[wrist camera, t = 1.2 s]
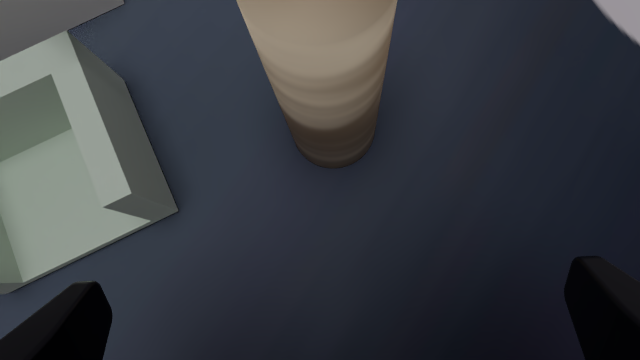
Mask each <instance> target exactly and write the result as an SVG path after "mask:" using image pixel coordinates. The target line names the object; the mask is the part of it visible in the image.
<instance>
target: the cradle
mask: <svg viewBox="0 0 640 360" xmlns="http://www.w3.org/2000/svg"><path fill="white" fill-rule="evenodd" d="M175 212H178V208H177V206H176V204H175V201H174V199H173V197H172V194H171V192H170V189H169V187H168V185H167V182H166V180H165V177H164V175H163V173H162V170H161V168H160V165H159V163H158V161H157V158H156V156H155V154H154V151H153V149H152V146H151V144H150V142H149V139H148V137H147V134H146V132H145V130H144V127H143V125H142V122H141V120H140V118H139V115H138V113H137V111H136V108H135V106H134V103H133V101H132V99H131V96H130V94H129V91H128V89H127V87H126V84H125V82H124V80H123V79H122V78H121V77H120V76H119V75H118V74H116V73H115V72H114V71H113V70H112V69H111V68H110V67H108V66H107V65H106V64H105V63H104V62H103V61H101V60H100V59H99V58H98V57H97V56H96V55H94V54H93V53H92V52H91V51H90V50H89V49H88V48H86V47H85V46H84V45H83V44H82V43H81V42H79V41H78V40H77V39H76V38H75V37H74V36H73V35H71V34H70V33H69V32H68V31H67V30H66V31H64V32H62V33H60V34H57V35H55V36H53V37H51V38H49V39H47V40H44V41H42V42H40V43H38V44H36V45H34V46H32V47H29V48H27V49H25V50H23V51H21V52H19V53H17V54H14V55H12V56H10V57H8V58H6V59H4V60H2V61H0V294H8V293H10V292H12V291H14V290H16V289H18V288H20V287H22V286H24V285H26V284H28V283H31V282H33V281H35V280H37V279H39V278H41V277H43V276H45V275H47V274H49V273H51V272H53V271H55V270H57V269H60V268H62V267H64V266H66V265H68V264H70V263H72V262H74V261H76V260H78V259H80V258H82V257H84V256H86V255H89V254H91V253H93V252H95V251H97V250H99V249H101V248H103V247H105V246H107V245H109V244H111V243H113V242H115V241H117V240H120V239H122V238H124V237H126V236H128V235H130V234H132V233H134V232H136V231H138V230H140V229H142V228H144V227H146V226H149V225H151V224H153V223H155V222H157V221H159V220H161V219H163V218H165V217H167V216H169V215H171V214H173V213H175Z"/></svg>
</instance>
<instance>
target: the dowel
mask: <svg viewBox="0 0 640 360" xmlns="http://www.w3.org/2000/svg"><path fill="white" fill-rule="evenodd" d="M236 1H237V3H238V6H239V8H240V10H241V13H242V15H243V18H244V20H245V23H246V25H247V27H248V30H249V32H250V35H251V37H252V40H253V42H254V44H255V47H256V49H257V52H258V54H259V56H260V59H261V61H262V64H263V66H264V69H265V71H266V73H267V76H268V78H269V81H270V83H271V85H272V88H273V90H274V93H275V95H276V98H277V100H278V102H279V105H280V107H281V110H282V112H283V115H284V117H285V119H286V122H287V124H288V127H289V129H290V131H291V134H292V136H293V139H294V141H295V144H296V146H297V148H298V150H299V151H300V152H301V154H302V155H303V156H304V157H305V158H306V159H308V160H309V161H310V162H312V163H314V164H316V165H318V166H321V167H325V168H341V167H345V166H348V165H351V164H353V163H354V162H356V161H358V160H359V159H360V158H361V157H362V156H363V155H365V153H366V152H367V151H368V149H369V148H370V146H371V144H372V141H373V138H374V133H375V127H376V121H377V115H378V109H379V104H380V98H381V92H382V86H383V80H384V74H385V69H386V63H387V57H388V51H389V45H390V39H391V33H392V28H393V22H394V16H395V10H396V4H397V0H236Z"/></svg>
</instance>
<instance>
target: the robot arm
mask: <svg viewBox="0 0 640 360" xmlns="http://www.w3.org/2000/svg"><path fill="white" fill-rule="evenodd" d="M564 296H565V301H566V304H567V307H568V310H569V313H570V316H571V319H572V322H573V325H574V328H575V331H576V334H577V337H578V340H579V342H580V345H581V348H582V351H583V354H584V357H585V360H640V282H639V281H637V280H636V279H634V278H633V277H631V276H629V275H628V274H626V273H625V272H623V271H622V270H620V269H619V268H617V267H616V266H614V265H612V264H611V263H609V262H608V261H606V260H605V259H603V258H601V257H599V256H581V257H576V258H574V260H573V261H572V263H571V267H570V270H569V274H568V277H567V280H566V284H565V288H564ZM111 323H112V310H111V307H110V305H109V303H108V301H107V298H106V296H105V294H104V292H103V290H102V288H101V286H100V284H99V283H98V282H96V281H81V282H75V283H73V284H71V285H70V286H69V287H67V288H66V289H65V290H64V291H62V292H61V293H60V294H58V295H57V296H56V297H55V298H53V299H52V300H51V301H49V302H48V303H47V304H46V305H44V306H43V307H42V308H40V309H39V310H38V311H37V312H35V313H34V314H33V315H31V316H30V317H29V318H28V319H26V320H25V321H24V322H22V323H21V324H20V325H19V326H17V327H16V328H15V329H13V330H12V331H11V332H10V333H8V334H7V335H6V336H4V337H3V338H2V339H1V340H0V360H103V355H104V351H105V347H106V343H107V339H108V335H109V331H110V327H111Z"/></svg>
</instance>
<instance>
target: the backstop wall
mask: <svg viewBox="0 0 640 360" xmlns="http://www.w3.org/2000/svg"><path fill="white" fill-rule="evenodd" d="M123 4H124V1H123V0H0V61H2V60H4V59H6V58H8V57H10V56H12V55H14V54H17V53H19V52H21V51H23V50H25V49H27V48H29V47H32V46H34V45H36V44H38V43H40V42H42V41H44V40H47V39H49V38H51V37H53V36H55V35H57V34H60V33H62V32H64V31H66V30H69V29H71V28H74V27H76V26H78V25H80V24H82V23H84V22H86V21H89V20H91V19H93V18H95V17H97V16H99V15H101V14H104V13H106V12H108V11H110V10H112V9H114V8H116V7H119V6H121V5H123Z"/></svg>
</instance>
